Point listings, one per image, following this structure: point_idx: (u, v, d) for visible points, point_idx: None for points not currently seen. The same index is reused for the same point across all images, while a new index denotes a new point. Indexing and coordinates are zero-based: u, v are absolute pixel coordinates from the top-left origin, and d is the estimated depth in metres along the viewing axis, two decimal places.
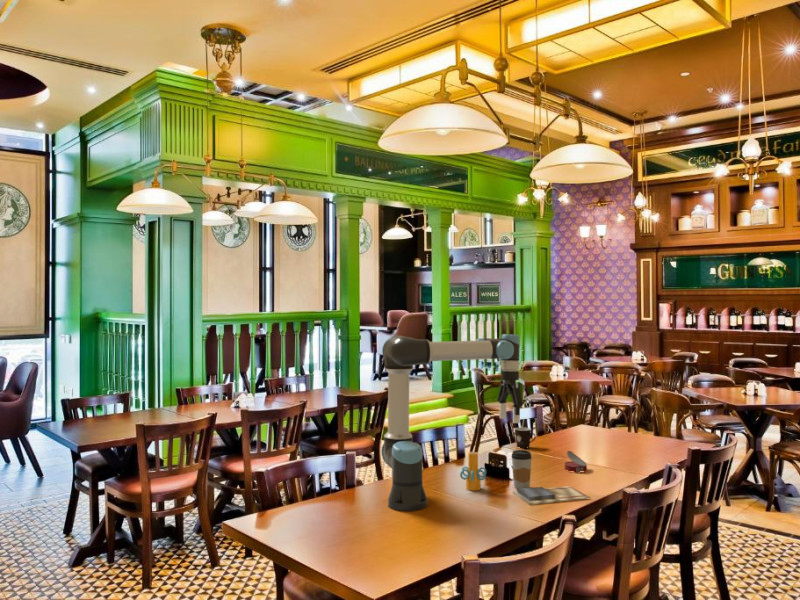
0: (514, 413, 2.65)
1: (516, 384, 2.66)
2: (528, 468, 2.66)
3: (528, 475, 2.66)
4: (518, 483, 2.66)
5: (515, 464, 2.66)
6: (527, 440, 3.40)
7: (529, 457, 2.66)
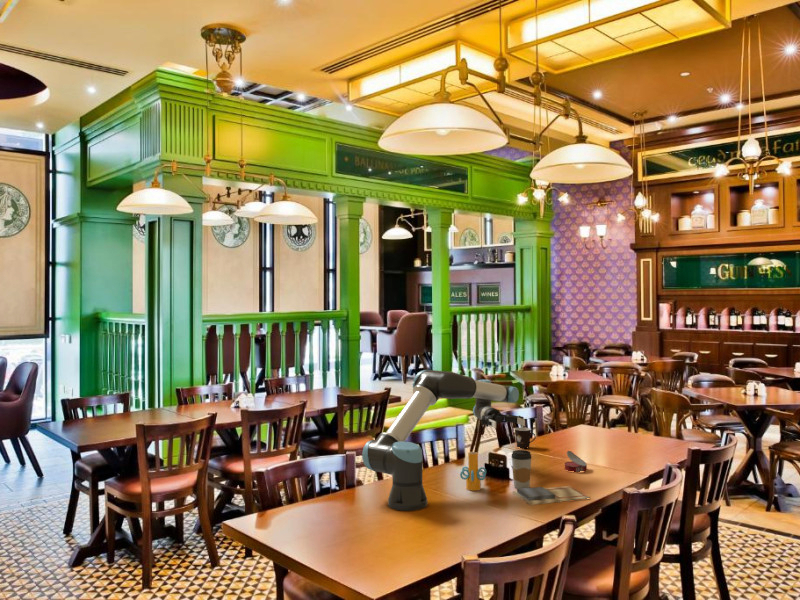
0: None
1: None
2: (528, 468, 2.66)
3: (528, 475, 2.66)
4: (518, 483, 2.66)
5: (515, 464, 2.66)
6: (527, 440, 3.40)
7: (529, 457, 2.66)
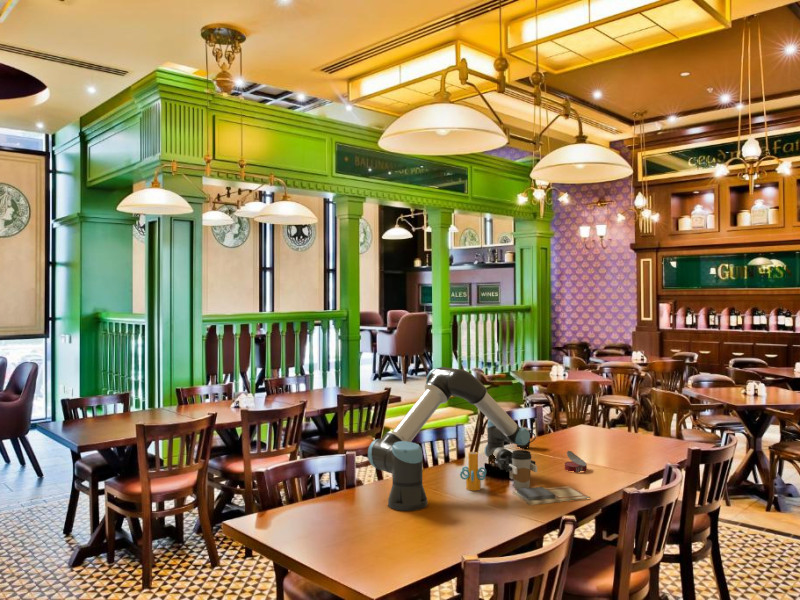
0: None
1: None
2: (528, 468, 2.66)
3: (528, 475, 2.66)
4: (518, 483, 2.66)
5: (515, 464, 2.66)
6: None
7: (529, 457, 2.66)
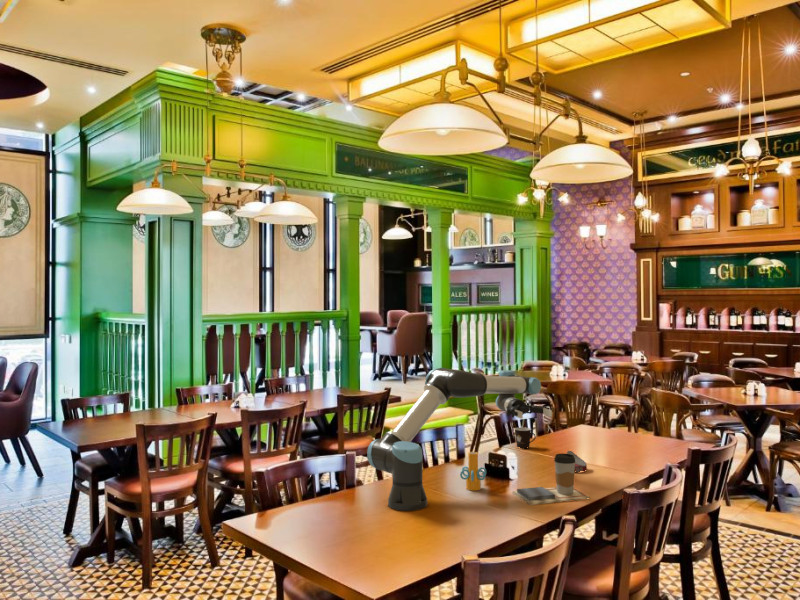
0: None
1: None
2: (572, 473, 2.55)
3: (572, 480, 2.56)
4: (561, 488, 2.56)
5: (558, 468, 2.56)
6: (527, 440, 3.40)
7: (573, 461, 2.56)
